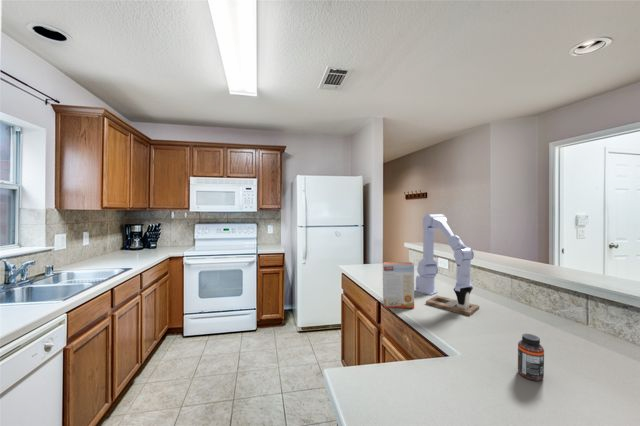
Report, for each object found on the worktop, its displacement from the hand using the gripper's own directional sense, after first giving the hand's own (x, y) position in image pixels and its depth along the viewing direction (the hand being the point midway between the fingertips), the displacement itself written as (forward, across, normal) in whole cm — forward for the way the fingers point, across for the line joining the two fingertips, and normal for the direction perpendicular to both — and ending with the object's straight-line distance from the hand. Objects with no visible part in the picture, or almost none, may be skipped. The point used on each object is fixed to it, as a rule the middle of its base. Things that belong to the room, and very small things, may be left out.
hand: (463, 303), depth 128 cm
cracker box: (+3, -18, +23) cm, 29 cm away
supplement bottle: (+3, -38, -32) cm, 50 cm away
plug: (+3, 0, 0) cm, 3 cm away
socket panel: (+3, 0, +5) cm, 6 cm away
